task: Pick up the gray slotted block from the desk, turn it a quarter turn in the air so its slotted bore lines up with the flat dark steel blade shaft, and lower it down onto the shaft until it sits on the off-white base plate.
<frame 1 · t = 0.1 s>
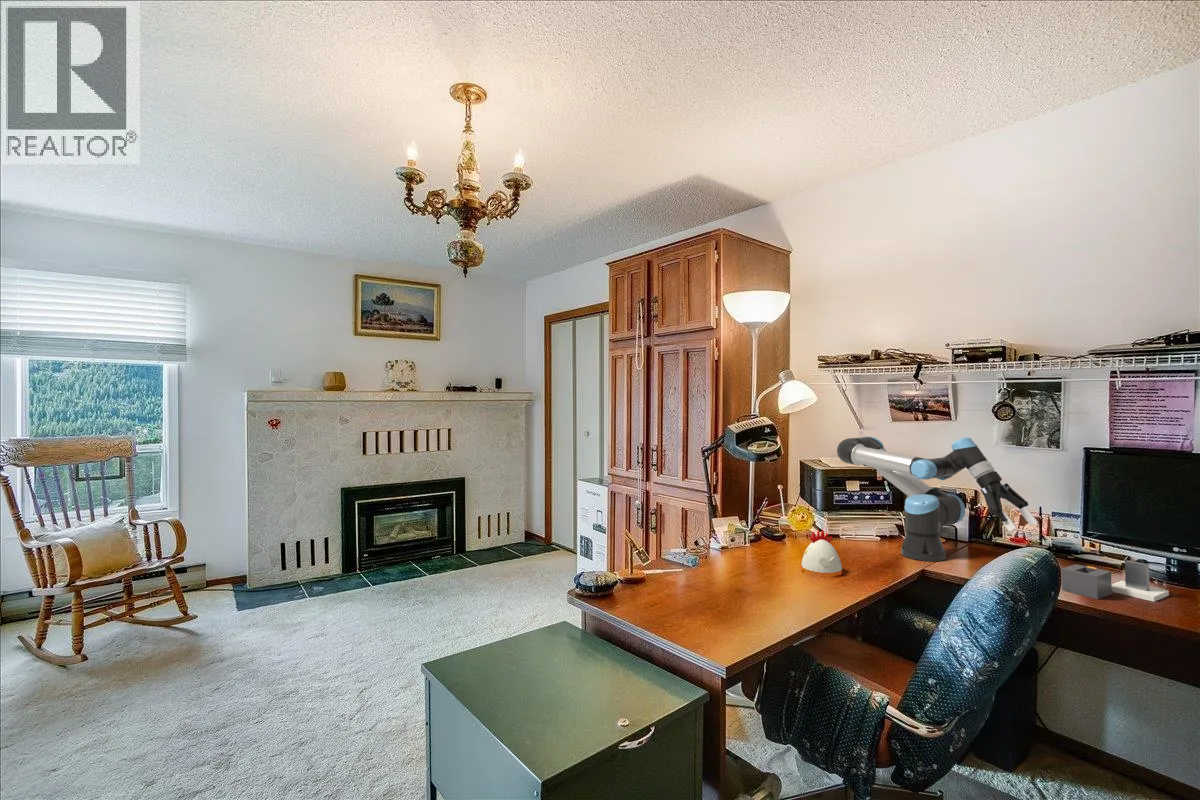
hand: (1024, 527, 195), 15 cm above the table, fingers open, 13 cm apart
shaft stand: (1137, 593, 171), on the table
kitchen timer: (821, 572, 200), on the table
gray slotted block: (1086, 592, 173), on the table
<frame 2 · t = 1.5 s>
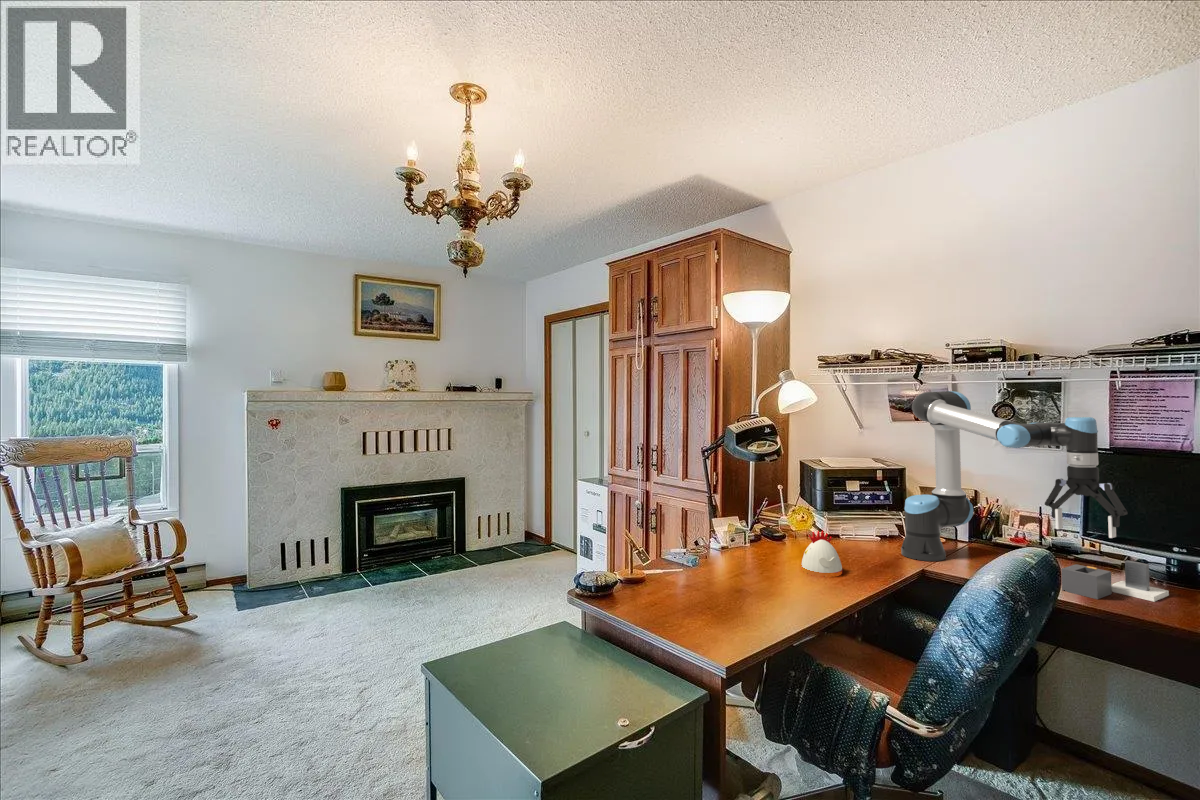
hand: (1084, 532, 173), 19 cm above the table, fingers open, 13 cm apart
nothing on the table moved.
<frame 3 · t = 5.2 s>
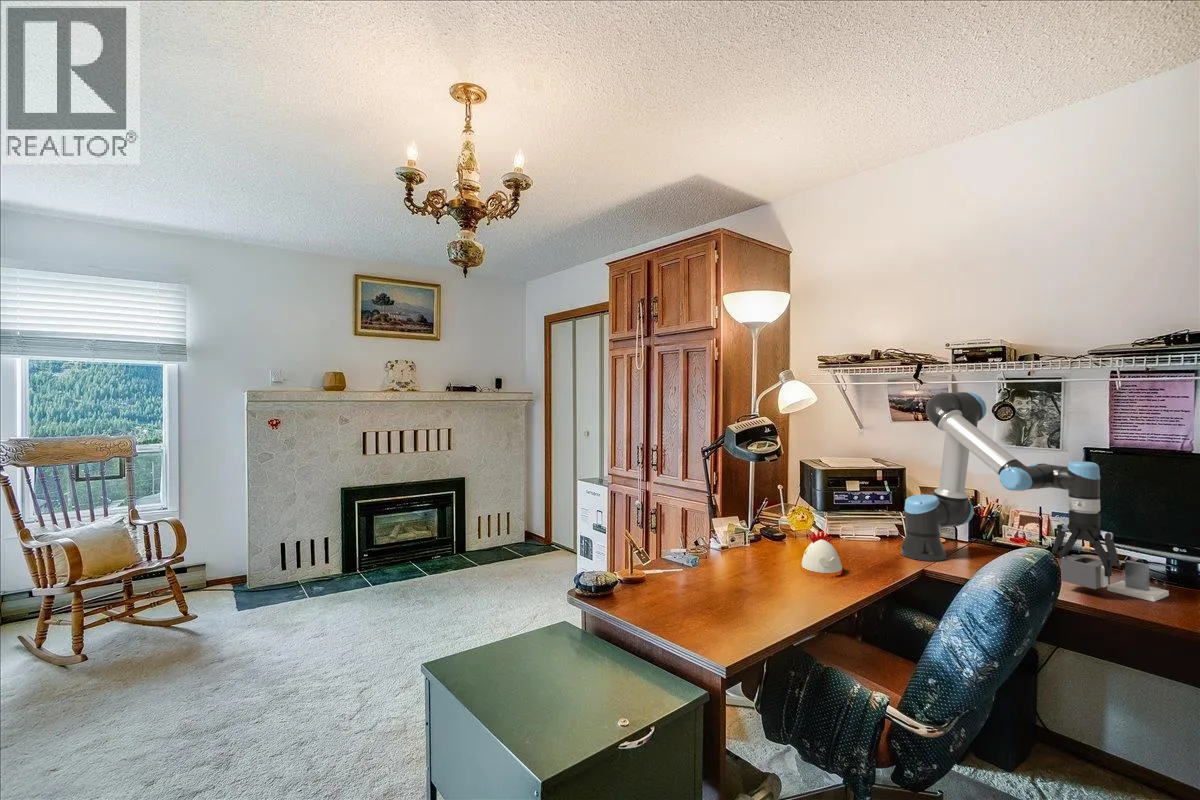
hand: (1084, 581, 173), 3 cm above the table, fingers closed on gray slotted block, 9 cm apart
gray slotted block: (1084, 582, 173), point 3 cm above the table, touching gripper
everything else where it was.
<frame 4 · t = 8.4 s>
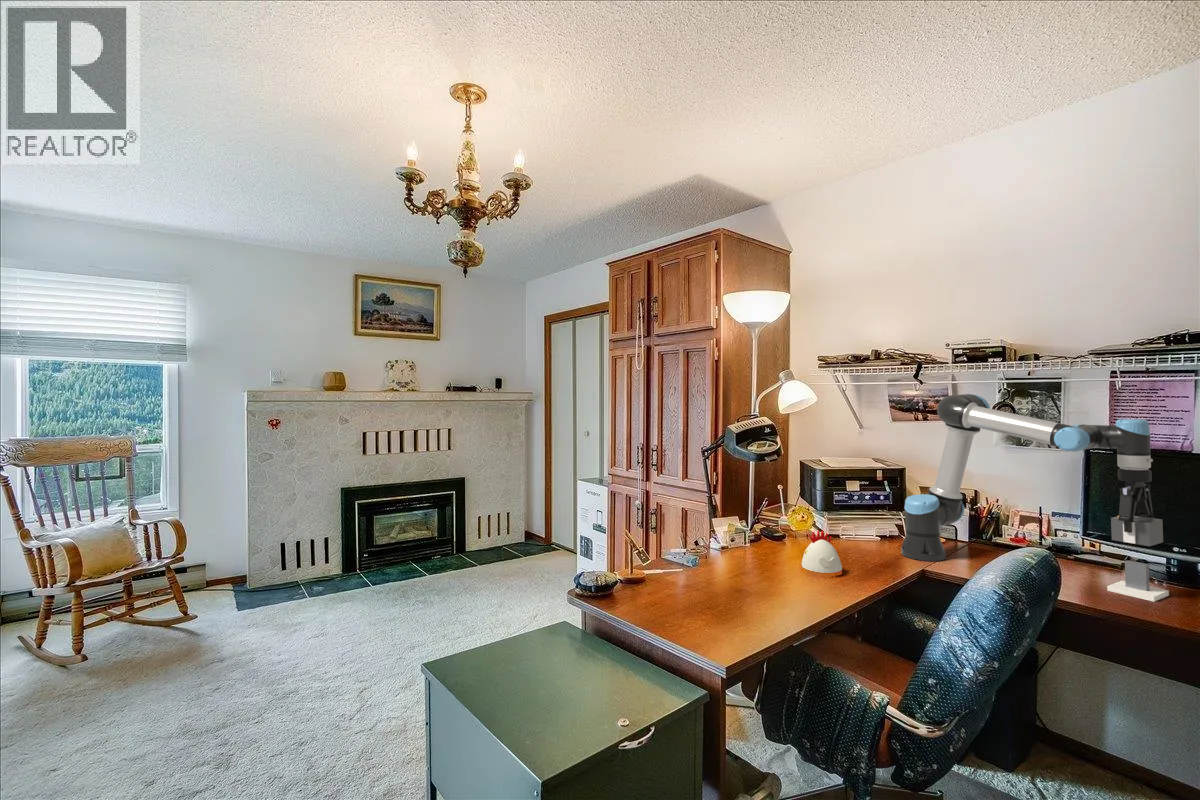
hand: (1137, 540, 170), 17 cm above the table, fingers closed on gray slotted block, 9 cm apart
gray slotted block: (1137, 541, 170), point 16 cm above the table, touching gripper
everything else where it was.
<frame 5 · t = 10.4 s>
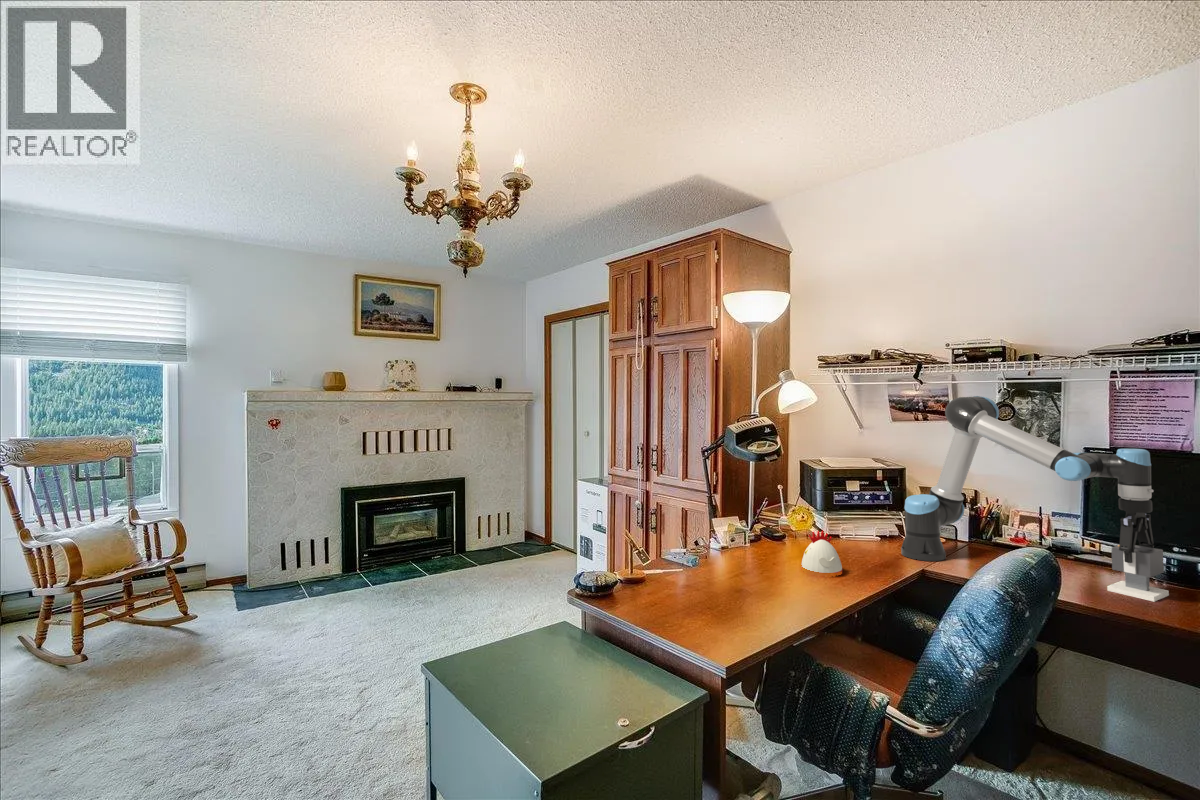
hand: (1137, 570, 171), 7 cm above the table, fingers closed on gray slotted block, 9 cm apart
gray slotted block: (1137, 570, 171), point 7 cm above the table, touching gripper
everything else where it was.
when the fingers open (4 cm above the table, at t = 11.8 s): gray slotted block drops 3 cm, resting on shaft stand.
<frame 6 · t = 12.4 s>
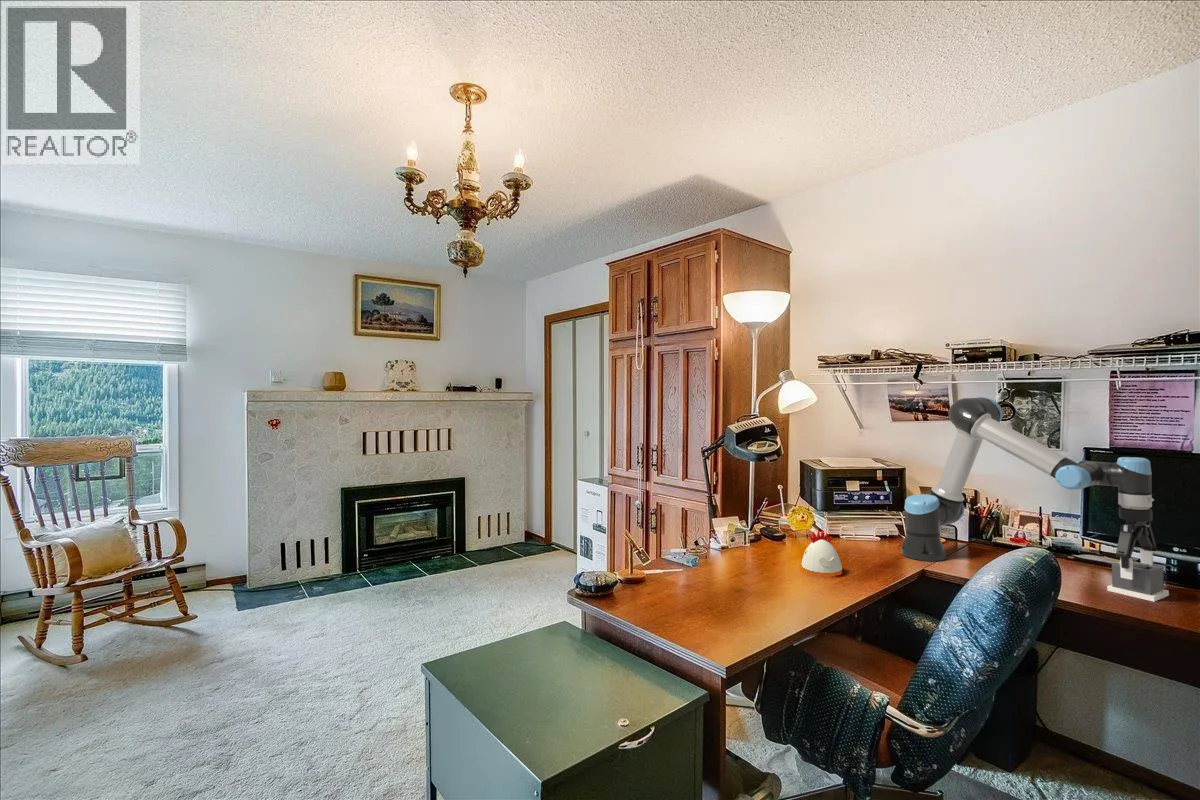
hand: (1137, 574, 171), 6 cm above the table, fingers open, 13 cm apart
gray slotted block: (1137, 588, 171), point 1 cm above the table, touching shaft stand
everything else where it was.
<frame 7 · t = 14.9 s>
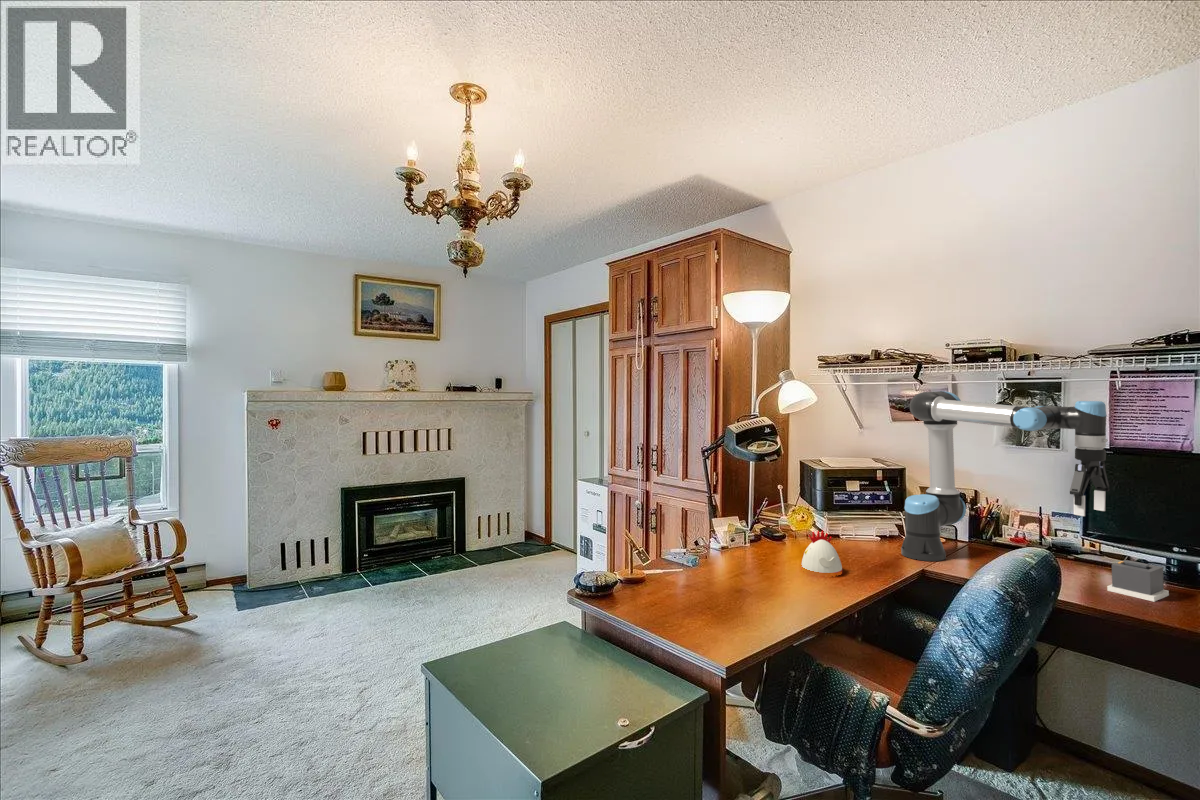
hand: (1089, 512, 179), 24 cm above the table, fingers open, 13 cm apart
nothing on the table moved.
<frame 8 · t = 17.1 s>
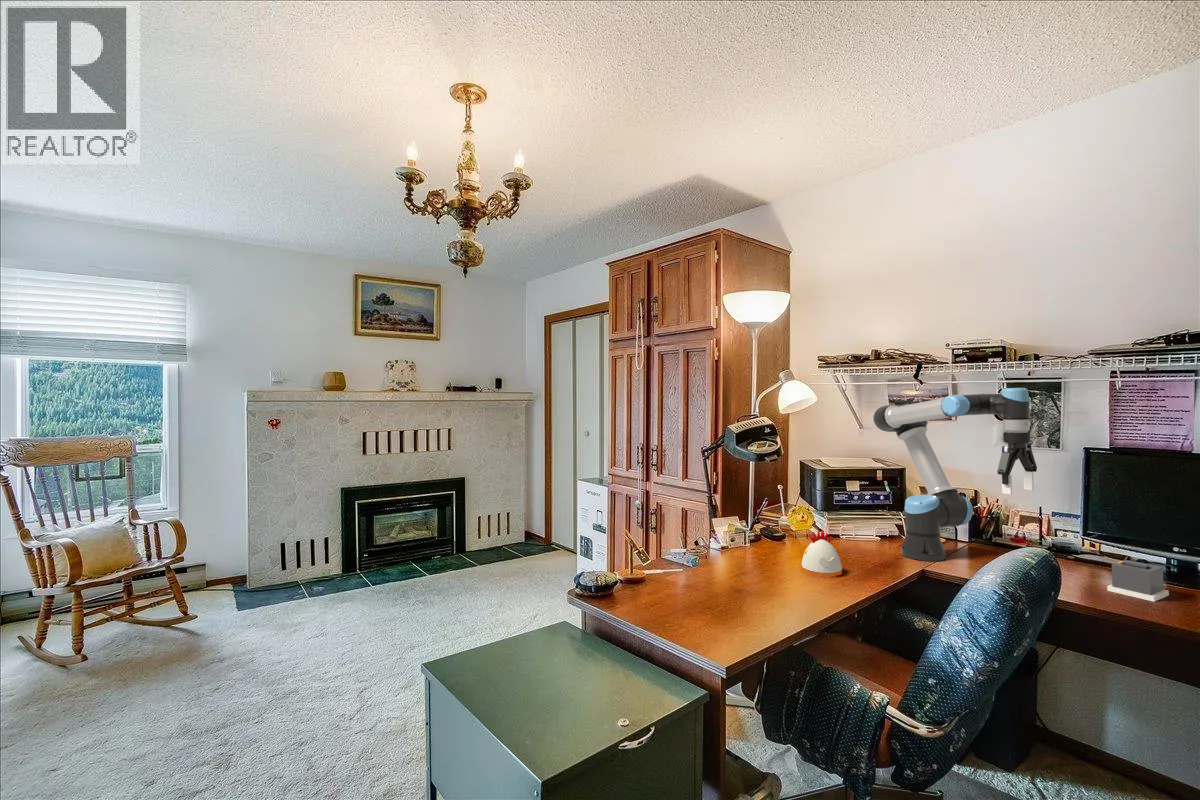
hand: (1018, 491, 192), 29 cm above the table, fingers open, 13 cm apart
nothing on the table moved.
at the end: gray slotted block 0.1 cm off-centre on the shaft stand, point 1.5 cm above the shaft stand's base; gray slotted block tilted 0°; the gripper is holding nothing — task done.
